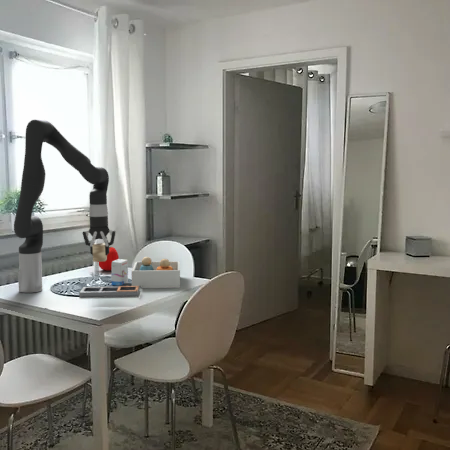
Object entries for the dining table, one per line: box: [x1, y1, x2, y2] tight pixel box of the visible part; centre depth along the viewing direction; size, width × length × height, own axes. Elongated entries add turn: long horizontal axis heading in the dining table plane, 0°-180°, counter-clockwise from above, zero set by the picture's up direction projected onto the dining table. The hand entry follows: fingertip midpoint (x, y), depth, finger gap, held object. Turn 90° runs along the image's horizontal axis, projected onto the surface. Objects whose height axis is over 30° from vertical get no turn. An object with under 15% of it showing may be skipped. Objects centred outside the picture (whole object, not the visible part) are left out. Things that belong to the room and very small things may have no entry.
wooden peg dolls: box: [140, 256, 173, 271], centre depth 245 cm, size 18×17×12 cm
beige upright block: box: [92, 242, 107, 263], centre depth 215 cm, size 5×5×7 cm
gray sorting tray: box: [78, 285, 140, 298], centre depth 218 cm, size 24×10×3 cm, turn 96°
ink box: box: [111, 258, 129, 286], centre depth 237 cm, size 9×5×12 cm, turn 168°
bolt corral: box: [131, 260, 181, 289], centre depth 244 cm, size 22×23×8 cm
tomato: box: [98, 246, 120, 271], centre depth 271 cm, size 12×12×13 cm
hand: (100, 254), depth 215 cm, fingers closed on beige upright block, 5 cm apart
